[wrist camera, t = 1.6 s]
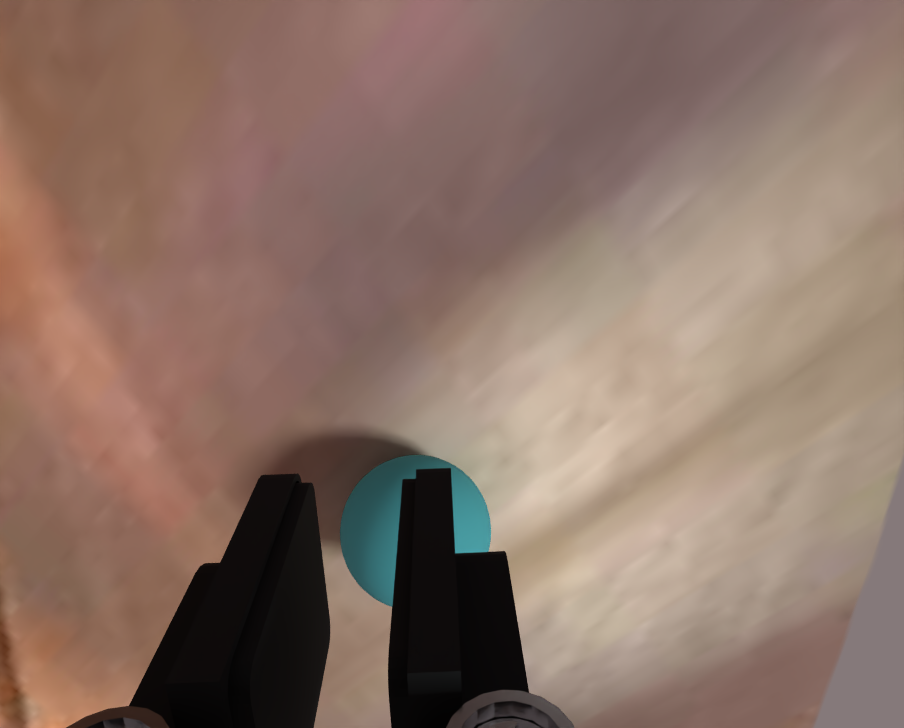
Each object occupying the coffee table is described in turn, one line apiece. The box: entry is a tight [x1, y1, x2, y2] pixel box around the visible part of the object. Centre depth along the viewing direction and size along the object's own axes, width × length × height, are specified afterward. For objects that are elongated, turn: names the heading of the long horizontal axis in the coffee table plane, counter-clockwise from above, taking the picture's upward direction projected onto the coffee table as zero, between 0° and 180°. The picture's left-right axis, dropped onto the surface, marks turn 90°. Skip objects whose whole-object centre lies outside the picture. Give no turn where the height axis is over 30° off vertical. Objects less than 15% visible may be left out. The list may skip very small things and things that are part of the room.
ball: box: [340, 455, 491, 606], centre depth 27 cm, size 6×6×6 cm
